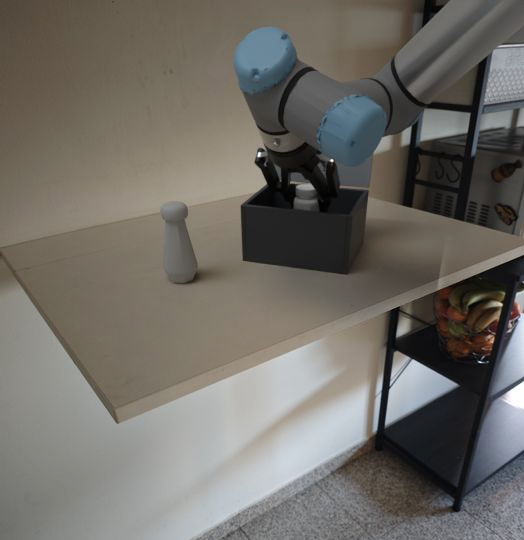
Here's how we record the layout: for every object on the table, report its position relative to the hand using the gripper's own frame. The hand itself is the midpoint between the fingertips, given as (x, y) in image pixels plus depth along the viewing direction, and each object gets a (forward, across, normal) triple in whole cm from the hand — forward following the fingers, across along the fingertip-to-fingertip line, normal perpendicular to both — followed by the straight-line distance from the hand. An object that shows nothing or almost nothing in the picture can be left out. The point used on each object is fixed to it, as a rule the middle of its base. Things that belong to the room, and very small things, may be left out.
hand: (311, 209), depth 94 cm
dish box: (+2, 0, -8) cm, 8 cm away
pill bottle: (0, 0, -5) cm, 5 cm away
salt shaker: (-10, -17, -20) cm, 28 cm away
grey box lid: (-5, 0, +12) cm, 13 cm away
